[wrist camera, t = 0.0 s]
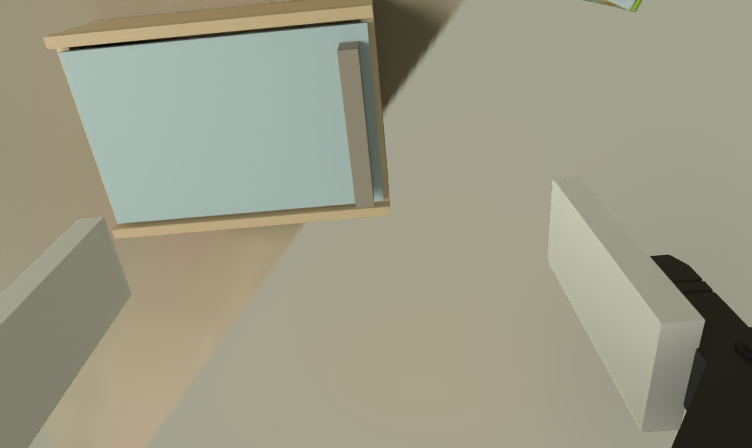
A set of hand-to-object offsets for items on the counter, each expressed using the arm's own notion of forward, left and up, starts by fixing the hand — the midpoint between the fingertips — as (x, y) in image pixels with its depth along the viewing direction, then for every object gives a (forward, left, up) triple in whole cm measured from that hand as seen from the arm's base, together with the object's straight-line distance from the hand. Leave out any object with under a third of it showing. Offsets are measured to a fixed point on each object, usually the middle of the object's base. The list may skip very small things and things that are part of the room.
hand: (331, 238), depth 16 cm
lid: (+3, -8, -22) cm, 23 cm away
